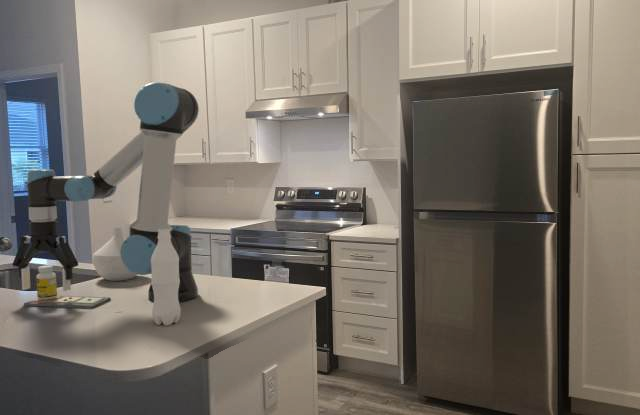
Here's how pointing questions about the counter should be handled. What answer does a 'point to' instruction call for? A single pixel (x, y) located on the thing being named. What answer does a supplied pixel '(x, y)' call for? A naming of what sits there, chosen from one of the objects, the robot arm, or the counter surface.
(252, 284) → the counter surface
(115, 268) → the vase
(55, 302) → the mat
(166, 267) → the water bottle
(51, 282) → the supplement bottle
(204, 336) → the counter surface
